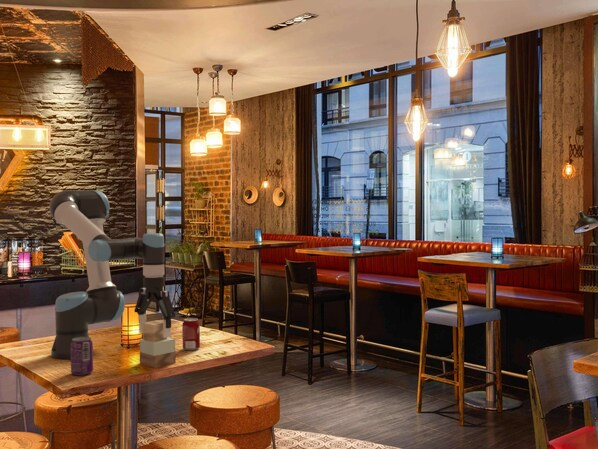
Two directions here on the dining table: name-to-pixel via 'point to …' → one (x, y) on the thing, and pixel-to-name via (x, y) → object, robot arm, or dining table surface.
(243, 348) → the dining table surface
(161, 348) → the tower top block
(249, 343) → the dining table surface
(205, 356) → the dining table surface
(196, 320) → the soda can
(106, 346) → the dining table surface
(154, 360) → the tower base block
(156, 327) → the oak cube
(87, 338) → the beverage can
